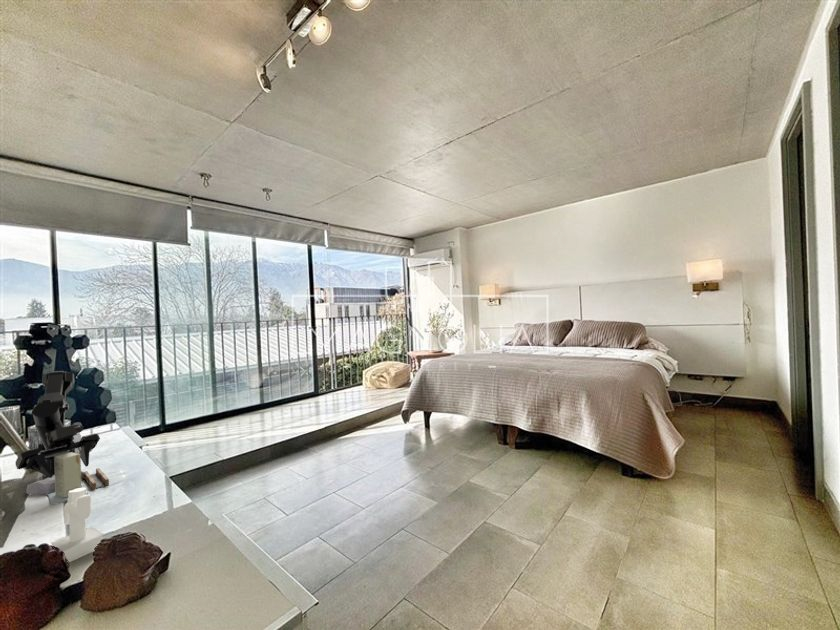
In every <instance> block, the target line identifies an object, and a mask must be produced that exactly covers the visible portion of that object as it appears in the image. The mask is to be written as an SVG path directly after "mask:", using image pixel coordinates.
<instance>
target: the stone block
mask: <svg viewBox="0 0 840 630" xmlns="http://www.w3.org/2000/svg"><path fill="white" fill-rule="evenodd" d="M84 472H85V471H83V470H81V481H82V480H84V479H85V478H84V476H85V474H84ZM51 493H55V475H53V476H52V477H51V478H49V477H48V478H44V479H41V480H37V481H35V482H30V483H29V484H27V486H26V494H27V495H29V494H31V496H34V495H33V494H35V496H37V495H45V496H46V495H47V496H48V494H51Z"/></svg>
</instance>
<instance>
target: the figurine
mask: <svg viewBox="0 0 840 630" xmlns="http://www.w3.org/2000/svg"><path fill="white" fill-rule="evenodd" d="M86 490H87V488H86V487H85V488H77V489H74V490H72V491H71V490H70V491H69V492H68V498H67V499H68V500H67V501H66V503H65V505H64V508H63V523H64V525H69V529H68V530H69V531H68V532H69V534H68V535H66V536H64V537H61V538H59V539H56V540H54V541H51V542H50V544H51V546H52V547H53V546H55V547H58V548H60V549H61V550H62V551H63V552H64V553H65V556H66V558H67V559H68V561H69V562H68V561H67V562H68V563H71V562H73V561H76V560H78V559H80V558H81V557H82V558H83V557H85V556H86V555H88V554H89V555H90V553H93V552H94V551H93V549H94V548H95V547H96V546H97V547H98V545H99V543H100V542H101V540H102V538H103V537H104V535H105V533H104V532H102V531H100V530H98V529H97V528H95V527H94V526H92V525H91V526H88V527H86V520H87V519H88V518H89V517H90V515H91V511H92V506H91V505H92V497H91V495H90V494H87V495H86ZM97 544H98V545H97ZM97 547H96V548H97Z"/></svg>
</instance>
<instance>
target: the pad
mask: <svg viewBox="0 0 840 630" xmlns="http://www.w3.org/2000/svg"><path fill="white" fill-rule="evenodd" d="M81 487H82V488H86V487H85V486H84V484H81ZM86 495H89V492H88V491H87V489H86ZM47 496H48V498H49V500H50V501H49V502H50V504H51V505H52V506H53V505H56V504H61V503H65V502H67V501H68V499H67V498H68V497H61V496H57V495H55V492H53V493H51V494H47Z"/></svg>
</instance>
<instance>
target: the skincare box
mask: <svg viewBox="0 0 840 630" xmlns="http://www.w3.org/2000/svg"><path fill="white" fill-rule="evenodd" d="M81 463H82V460H81V458H80V454H79V452H75V453H73V452H70V453H66V454H62V455H59V456H55V457H54V466H55V492H54V493H55V495H57V496H61V497H68V492H69V491H70V490H71V491H72V490H74V489H77V488H82V487H81V485H82V480H81V471H82V468H81V467H82V465H81Z"/></svg>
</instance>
